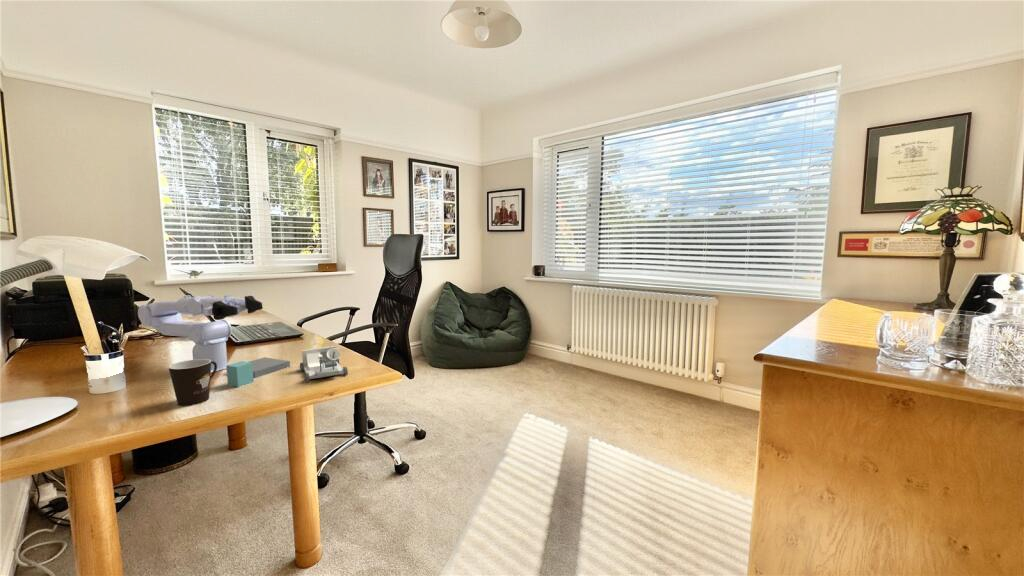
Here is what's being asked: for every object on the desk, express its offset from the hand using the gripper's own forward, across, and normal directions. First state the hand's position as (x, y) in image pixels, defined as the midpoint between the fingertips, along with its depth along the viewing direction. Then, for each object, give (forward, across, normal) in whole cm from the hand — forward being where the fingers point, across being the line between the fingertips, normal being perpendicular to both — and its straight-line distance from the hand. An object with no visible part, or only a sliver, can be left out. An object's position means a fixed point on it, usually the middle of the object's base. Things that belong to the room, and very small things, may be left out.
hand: (249, 308), depth 120 cm
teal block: (+2, -7, +21) cm, 22 cm away
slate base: (-5, +4, +22) cm, 23 cm away
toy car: (+17, +9, +23) cm, 30 cm away
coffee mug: (+4, -19, +21) cm, 28 cm away
